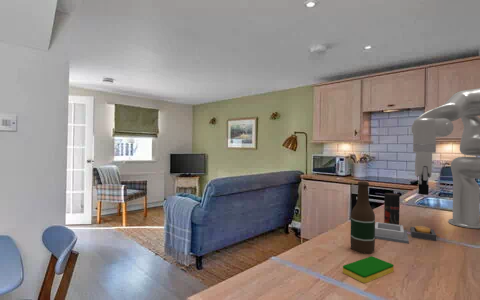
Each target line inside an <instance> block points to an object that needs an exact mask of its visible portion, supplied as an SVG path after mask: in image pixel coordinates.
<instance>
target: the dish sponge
mask: <svg viewBox="0 0 480 300" xmlns="http://www.w3.org/2000/svg"><path fill="white" fill-rule="evenodd" d="M394 266H395V265H394V264H393V263H390V262H388V261H385V260H383V259H380V258H377V257H375V256H373V255H371V256H368V257H365V258H361V259H359V260H356V261H353V262H350V263H347V264H344V265H342V274H345V276H348V277H351V278H353V279H355V280H357V281H359V282H361V283H363V284H367V283H369V282H372V281H373V280H377V279H379V278H381V277H384V276H386V275H389V274H391V273H393V272H394V268H395V267H394Z"/></svg>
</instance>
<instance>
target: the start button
mask: <svg viewBox="0 0 480 300" xmlns="http://www.w3.org/2000/svg"><path fill="white" fill-rule="evenodd" d="M415 227H416V228H415V232H422V233H430V229H431V227H428V226H426V225H415Z"/></svg>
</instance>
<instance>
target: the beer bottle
mask: <svg viewBox="0 0 480 300" xmlns="http://www.w3.org/2000/svg"><path fill="white" fill-rule="evenodd" d="M369 186H370V183H369V182H368V181H366V180H365V181H358V182H357V198H356V202H355V205H354V206H353V208H352V210H351V213H350V249H351V250H352V251H354V252H355V253H360V254H363V255H366V254H368V255H369V254H372V253H374V251H375V247H376V242H375V241H376V239H375V224H376V214H375V211H374V209H373V207H372V206H371V205H370V199H369V198H370V194H369Z"/></svg>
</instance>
